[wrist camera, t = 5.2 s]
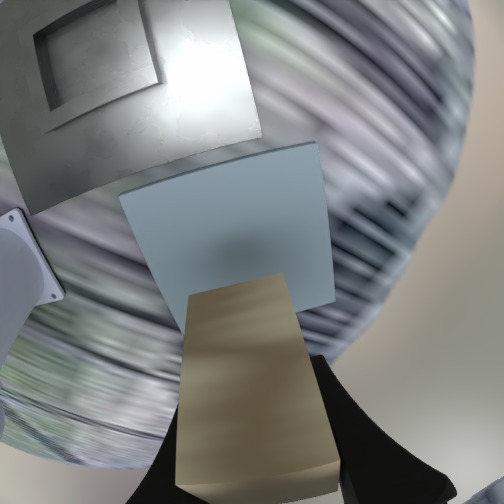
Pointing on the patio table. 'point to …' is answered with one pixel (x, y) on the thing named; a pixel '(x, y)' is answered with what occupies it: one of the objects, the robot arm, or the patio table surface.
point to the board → (237, 227)
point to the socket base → (116, 89)
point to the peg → (250, 401)
